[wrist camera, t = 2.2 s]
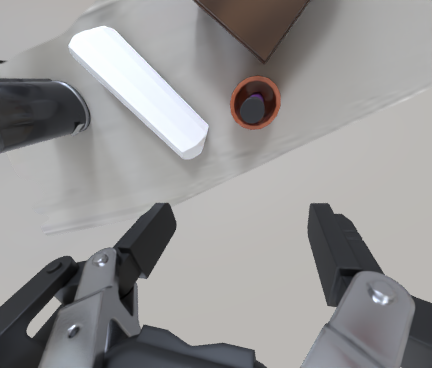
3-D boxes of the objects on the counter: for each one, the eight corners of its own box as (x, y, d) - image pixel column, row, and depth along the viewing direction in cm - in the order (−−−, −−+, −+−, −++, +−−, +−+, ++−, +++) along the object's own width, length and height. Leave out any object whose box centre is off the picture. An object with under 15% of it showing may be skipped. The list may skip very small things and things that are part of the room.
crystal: (66, 71, 28) (181, 174, 33) (50, 25, 22) (194, 160, 26) (105, 54, 31) (203, 149, 36) (101, 10, 25) (220, 132, 30)
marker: (244, 102, 27) (235, 113, 18) (255, 87, 26) (250, 92, 17) (256, 112, 28) (253, 128, 18) (267, 98, 26) (269, 108, 17)
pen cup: (228, 104, 28) (221, 110, 23) (254, 66, 25) (252, 63, 20) (257, 128, 29) (256, 138, 24) (286, 95, 26) (291, 98, 21)
